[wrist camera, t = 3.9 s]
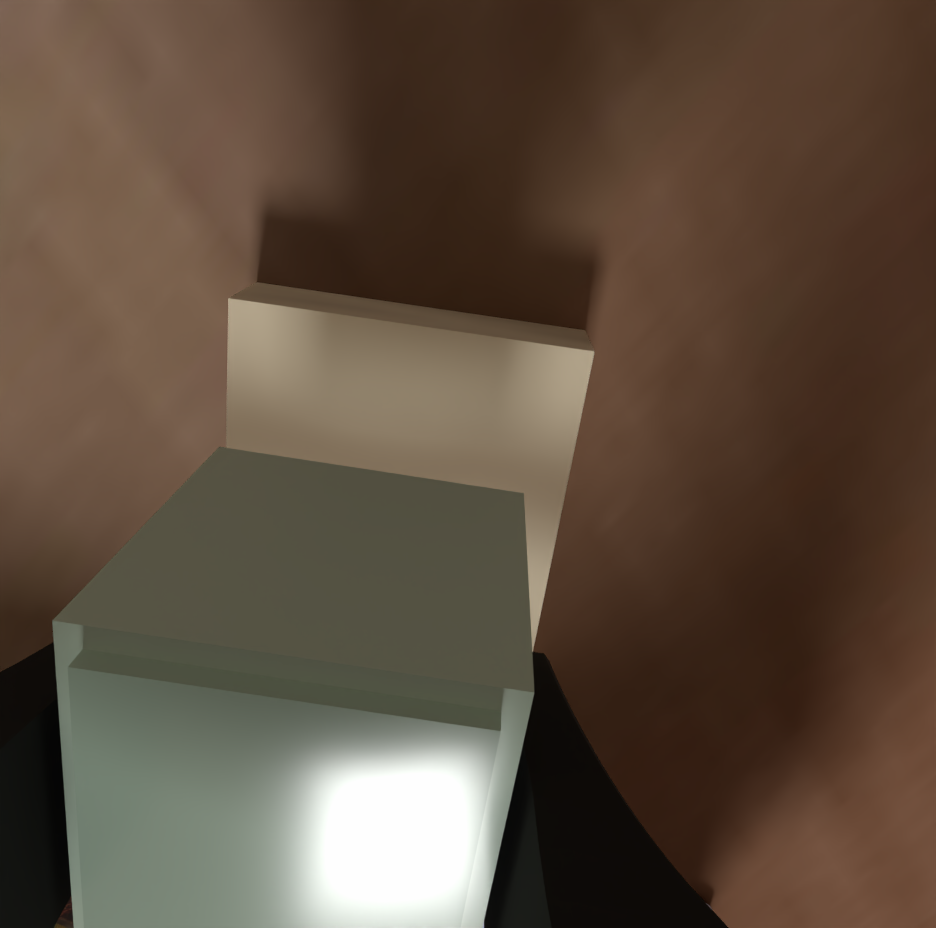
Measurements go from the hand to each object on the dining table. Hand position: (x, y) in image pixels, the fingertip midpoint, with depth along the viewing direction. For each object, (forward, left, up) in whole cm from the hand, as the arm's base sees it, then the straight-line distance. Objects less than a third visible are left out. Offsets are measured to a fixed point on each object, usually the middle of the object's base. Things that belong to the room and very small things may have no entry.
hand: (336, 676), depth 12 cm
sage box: (0, 0, -2) cm, 2 cm away
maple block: (0, 0, -9) cm, 9 cm away
